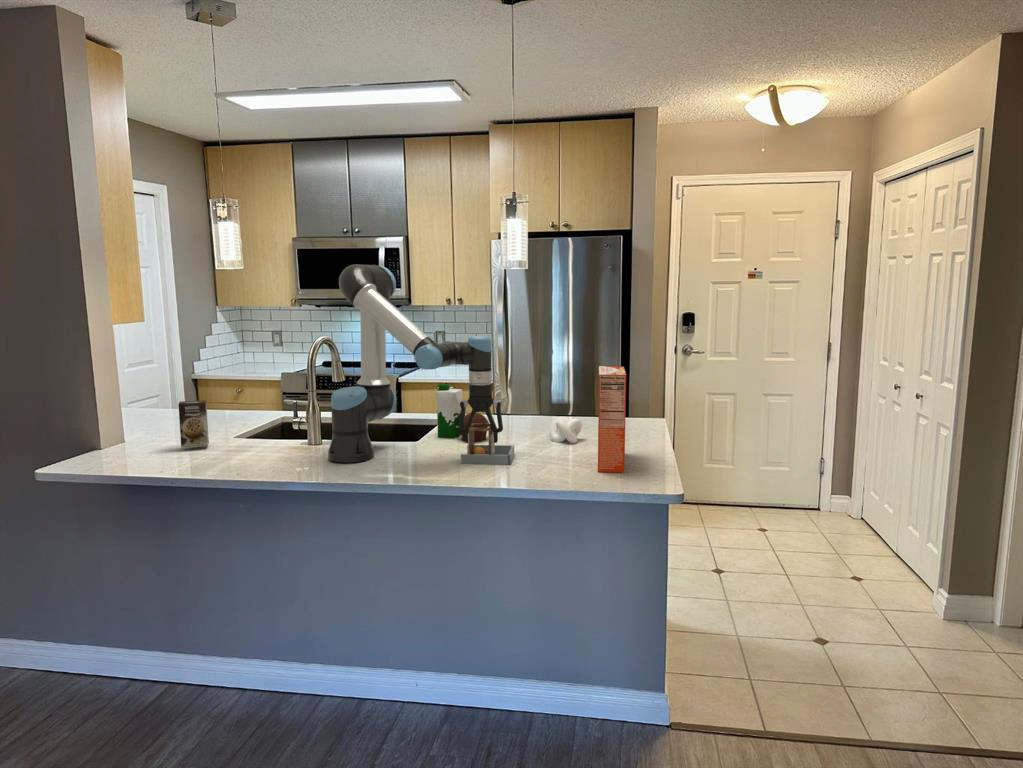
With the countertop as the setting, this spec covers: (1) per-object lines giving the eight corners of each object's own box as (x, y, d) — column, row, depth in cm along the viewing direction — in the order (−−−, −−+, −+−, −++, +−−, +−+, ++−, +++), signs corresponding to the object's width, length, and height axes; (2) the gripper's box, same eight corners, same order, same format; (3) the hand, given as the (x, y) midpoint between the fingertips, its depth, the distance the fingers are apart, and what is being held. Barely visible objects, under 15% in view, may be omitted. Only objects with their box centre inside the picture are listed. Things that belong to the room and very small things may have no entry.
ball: (469, 455, 221) (476, 445, 221) (471, 452, 225) (478, 443, 225) (479, 462, 221) (486, 453, 221) (481, 459, 225) (487, 450, 225)
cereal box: (597, 453, 229) (599, 366, 225) (622, 454, 228) (623, 366, 224) (597, 471, 207) (599, 374, 203) (624, 472, 206) (626, 374, 202)
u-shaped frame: (460, 463, 217) (460, 454, 216) (467, 453, 231) (467, 444, 231) (510, 464, 215) (510, 455, 215) (514, 453, 229) (514, 445, 229)
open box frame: (469, 457, 220) (468, 427, 219) (472, 452, 227) (472, 423, 226) (490, 458, 219) (490, 427, 218) (493, 452, 226) (493, 423, 225)
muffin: (484, 444, 245) (484, 417, 243) (455, 442, 247) (454, 415, 246) (491, 437, 256) (491, 411, 255) (463, 436, 258) (463, 410, 257)
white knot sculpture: (570, 437, 255) (570, 414, 254) (590, 443, 245) (590, 419, 244) (545, 441, 249) (545, 417, 248) (565, 447, 239) (565, 422, 238)
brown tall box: (180, 448, 240) (177, 403, 238) (182, 444, 246) (179, 401, 244) (208, 446, 244) (205, 402, 242) (209, 442, 250) (206, 399, 248)
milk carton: (443, 433, 263) (442, 382, 260) (465, 435, 260) (464, 383, 257) (434, 438, 255) (433, 385, 252) (456, 439, 252) (455, 386, 249)
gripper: (448, 385, 217) (449, 454, 220) (509, 385, 215) (510, 455, 218) (452, 381, 224) (453, 449, 228) (512, 382, 223) (512, 450, 226)
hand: (481, 452), depth 223 cm, fingers closed on open box frame, 7 cm apart
